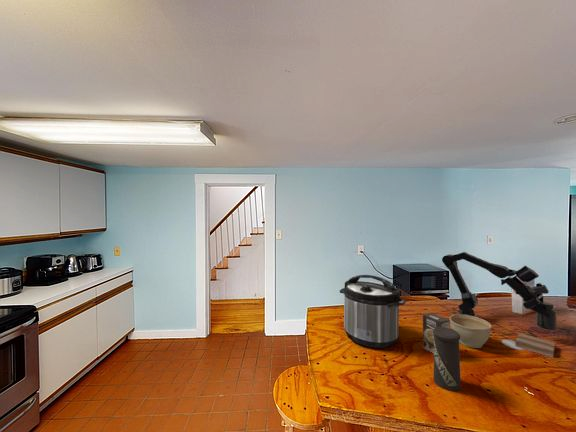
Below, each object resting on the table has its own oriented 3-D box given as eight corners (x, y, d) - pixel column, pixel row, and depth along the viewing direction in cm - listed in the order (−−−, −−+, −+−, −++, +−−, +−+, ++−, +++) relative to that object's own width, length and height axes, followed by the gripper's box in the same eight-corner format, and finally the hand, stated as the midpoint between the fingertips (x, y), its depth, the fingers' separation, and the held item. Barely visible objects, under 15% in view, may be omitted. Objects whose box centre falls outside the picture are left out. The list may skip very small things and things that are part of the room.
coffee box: (422, 348, 113) (421, 314, 113) (431, 345, 116) (431, 311, 116) (441, 358, 105) (440, 321, 105) (450, 355, 107) (450, 319, 107)
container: (427, 376, 94) (427, 325, 94) (449, 374, 94) (448, 324, 94) (444, 392, 85) (443, 336, 85) (467, 390, 86) (467, 335, 86)
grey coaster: (510, 350, 112) (510, 348, 112) (497, 340, 120) (497, 338, 120) (532, 351, 110) (532, 350, 110) (517, 341, 119) (517, 340, 119)
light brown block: (553, 357, 104) (553, 351, 104) (515, 346, 114) (515, 341, 114) (554, 347, 112) (554, 342, 112) (519, 337, 121) (519, 332, 121)
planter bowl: (453, 331, 128) (453, 311, 128) (493, 343, 117) (493, 320, 117) (446, 343, 117) (446, 321, 117) (489, 357, 105) (489, 332, 105)
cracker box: (523, 308, 158) (523, 276, 158) (535, 312, 152) (535, 279, 152) (510, 311, 153) (510, 279, 153) (522, 315, 147) (522, 281, 147)
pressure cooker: (416, 344, 116) (415, 279, 116) (368, 357, 107) (367, 286, 106) (374, 319, 145) (373, 267, 144) (333, 327, 135) (332, 271, 135)
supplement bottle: (560, 331, 114) (561, 306, 114) (543, 330, 115) (543, 305, 115) (548, 324, 121) (548, 301, 121) (532, 323, 122) (532, 300, 122)
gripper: (532, 282, 115) (568, 312, 106) (536, 275, 127) (568, 302, 118) (510, 294, 121) (542, 323, 113) (516, 286, 133) (545, 312, 125)
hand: (550, 315), depth 117 cm, fingers closed on supplement bottle, 7 cm apart
